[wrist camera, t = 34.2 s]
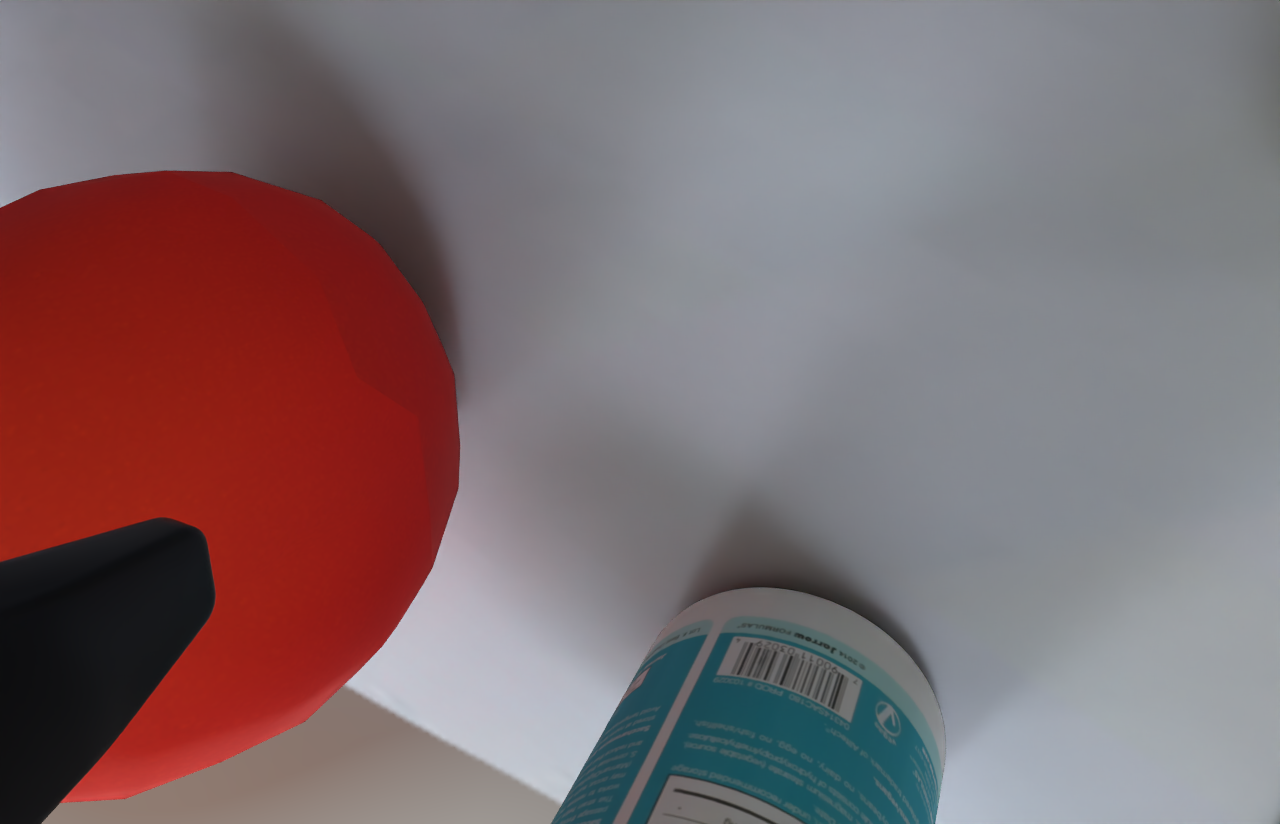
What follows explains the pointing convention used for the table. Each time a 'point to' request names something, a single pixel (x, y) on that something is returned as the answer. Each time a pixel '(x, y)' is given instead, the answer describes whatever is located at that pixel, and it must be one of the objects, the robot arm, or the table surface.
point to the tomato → (225, 434)
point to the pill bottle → (767, 723)
